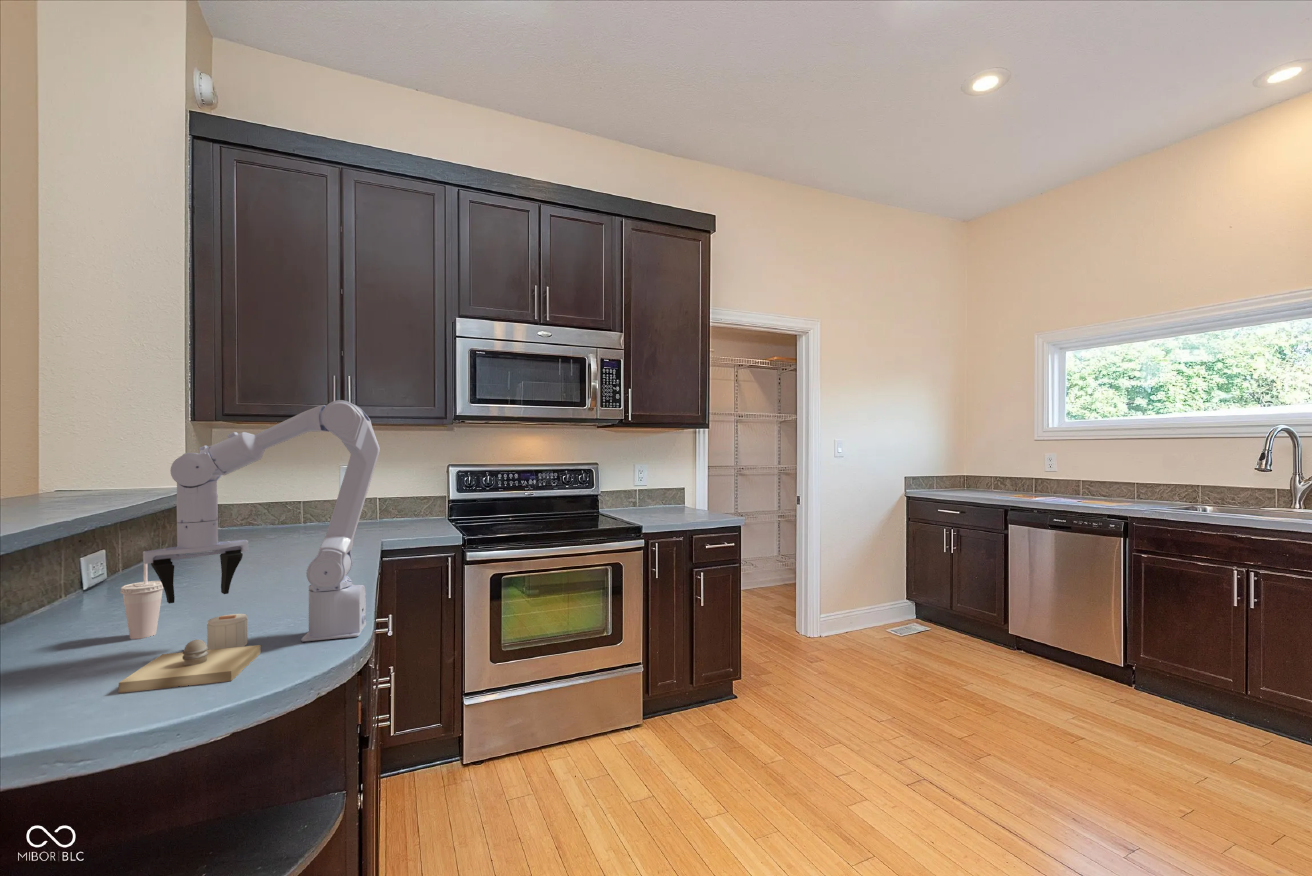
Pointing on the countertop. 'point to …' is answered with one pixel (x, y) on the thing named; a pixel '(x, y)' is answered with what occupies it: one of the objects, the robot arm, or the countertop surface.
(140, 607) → the smoothie
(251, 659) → the post board
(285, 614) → the countertop surface
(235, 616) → the cream short cylinder
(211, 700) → the countertop surface
